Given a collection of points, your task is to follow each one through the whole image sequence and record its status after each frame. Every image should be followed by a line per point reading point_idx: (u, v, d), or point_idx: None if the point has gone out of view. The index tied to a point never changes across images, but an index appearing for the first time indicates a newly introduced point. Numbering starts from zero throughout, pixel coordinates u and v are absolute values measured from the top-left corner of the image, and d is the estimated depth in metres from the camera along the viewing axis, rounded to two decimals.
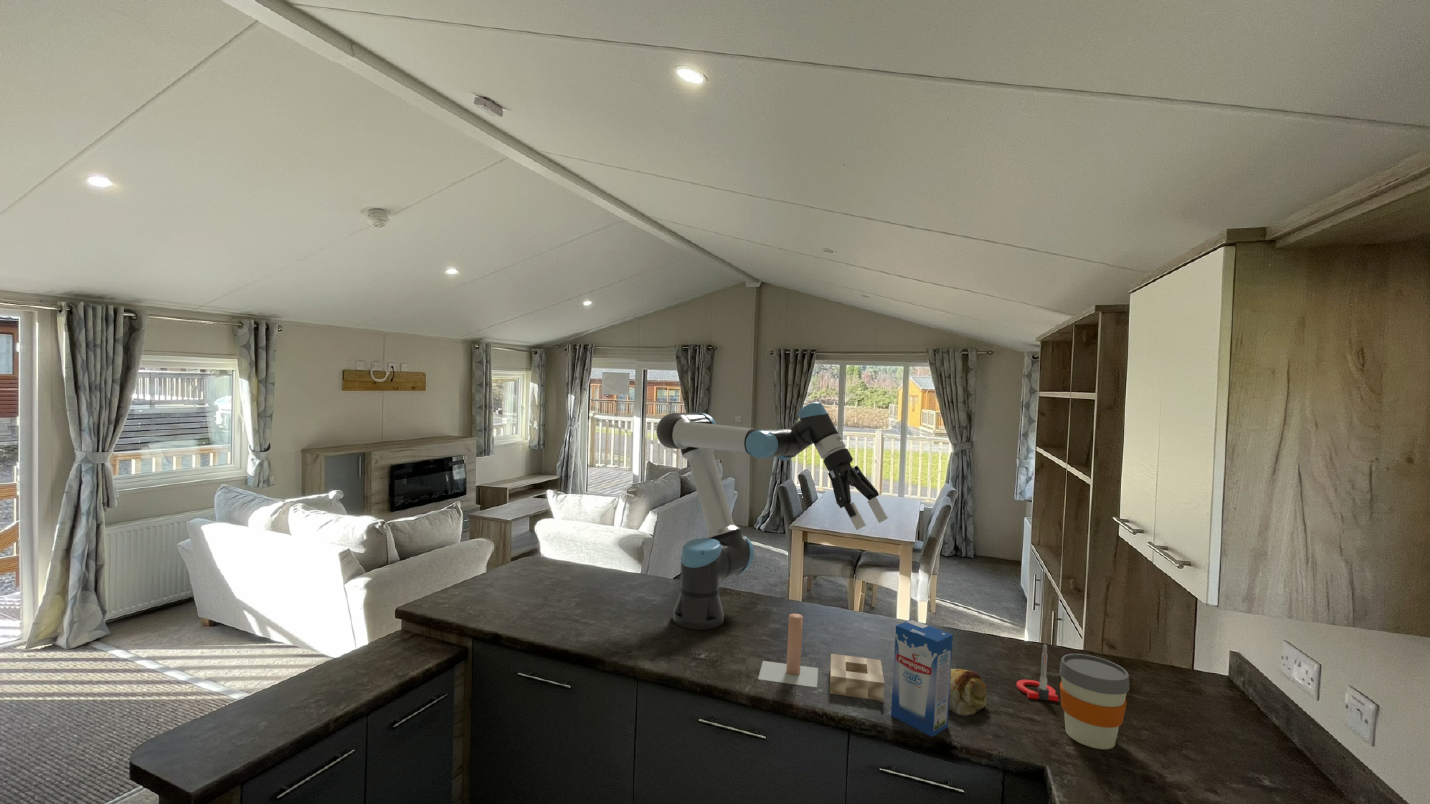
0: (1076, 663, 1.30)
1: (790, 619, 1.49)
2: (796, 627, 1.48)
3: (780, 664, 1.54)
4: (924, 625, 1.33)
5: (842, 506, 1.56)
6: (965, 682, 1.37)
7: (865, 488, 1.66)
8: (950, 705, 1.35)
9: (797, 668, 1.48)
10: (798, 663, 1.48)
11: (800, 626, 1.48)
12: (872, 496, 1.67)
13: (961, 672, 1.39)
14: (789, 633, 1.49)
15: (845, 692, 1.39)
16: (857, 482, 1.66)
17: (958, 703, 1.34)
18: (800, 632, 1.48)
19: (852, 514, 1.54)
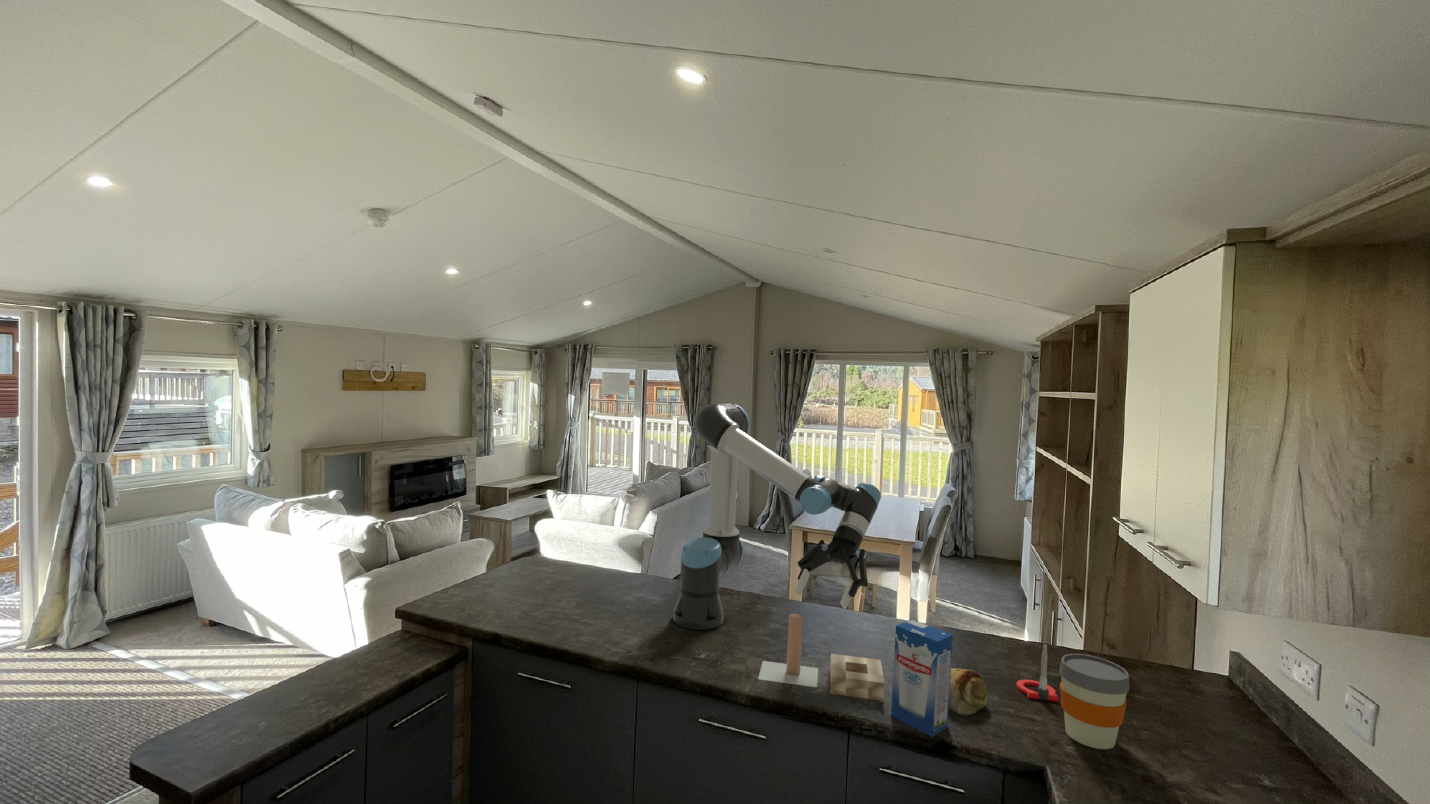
0: (1076, 663, 1.30)
1: (790, 619, 1.49)
2: (796, 627, 1.48)
3: (780, 664, 1.54)
4: (924, 625, 1.33)
5: (856, 582, 1.54)
6: (965, 682, 1.37)
7: (819, 565, 1.66)
8: (951, 705, 1.35)
9: (797, 668, 1.48)
10: (798, 663, 1.48)
11: (800, 626, 1.48)
12: (807, 570, 1.66)
13: (962, 671, 1.39)
14: (789, 633, 1.49)
15: (845, 692, 1.39)
16: (827, 559, 1.65)
17: (959, 703, 1.35)
18: (800, 632, 1.48)
19: (854, 595, 1.54)
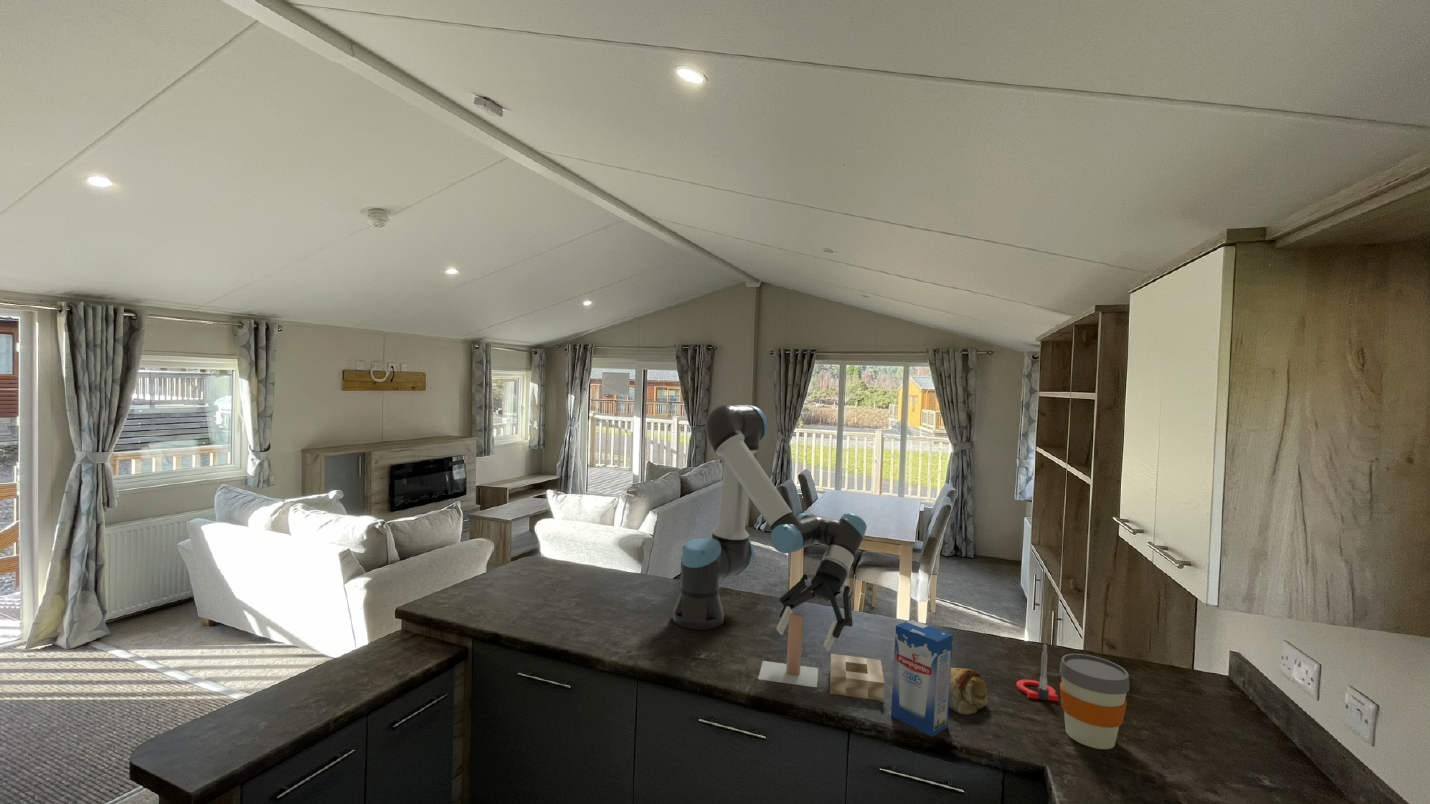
0: (1076, 663, 1.30)
1: (790, 619, 1.49)
2: (796, 627, 1.48)
3: (780, 664, 1.54)
4: (924, 625, 1.33)
5: (840, 622, 1.47)
6: (966, 681, 1.37)
7: (802, 602, 1.58)
8: (951, 704, 1.35)
9: (797, 668, 1.48)
10: (798, 663, 1.48)
11: (800, 626, 1.48)
12: (790, 607, 1.58)
13: (962, 671, 1.39)
14: (789, 633, 1.49)
15: (845, 692, 1.39)
16: (811, 595, 1.58)
17: (959, 702, 1.35)
18: (800, 632, 1.48)
19: (838, 636, 1.46)
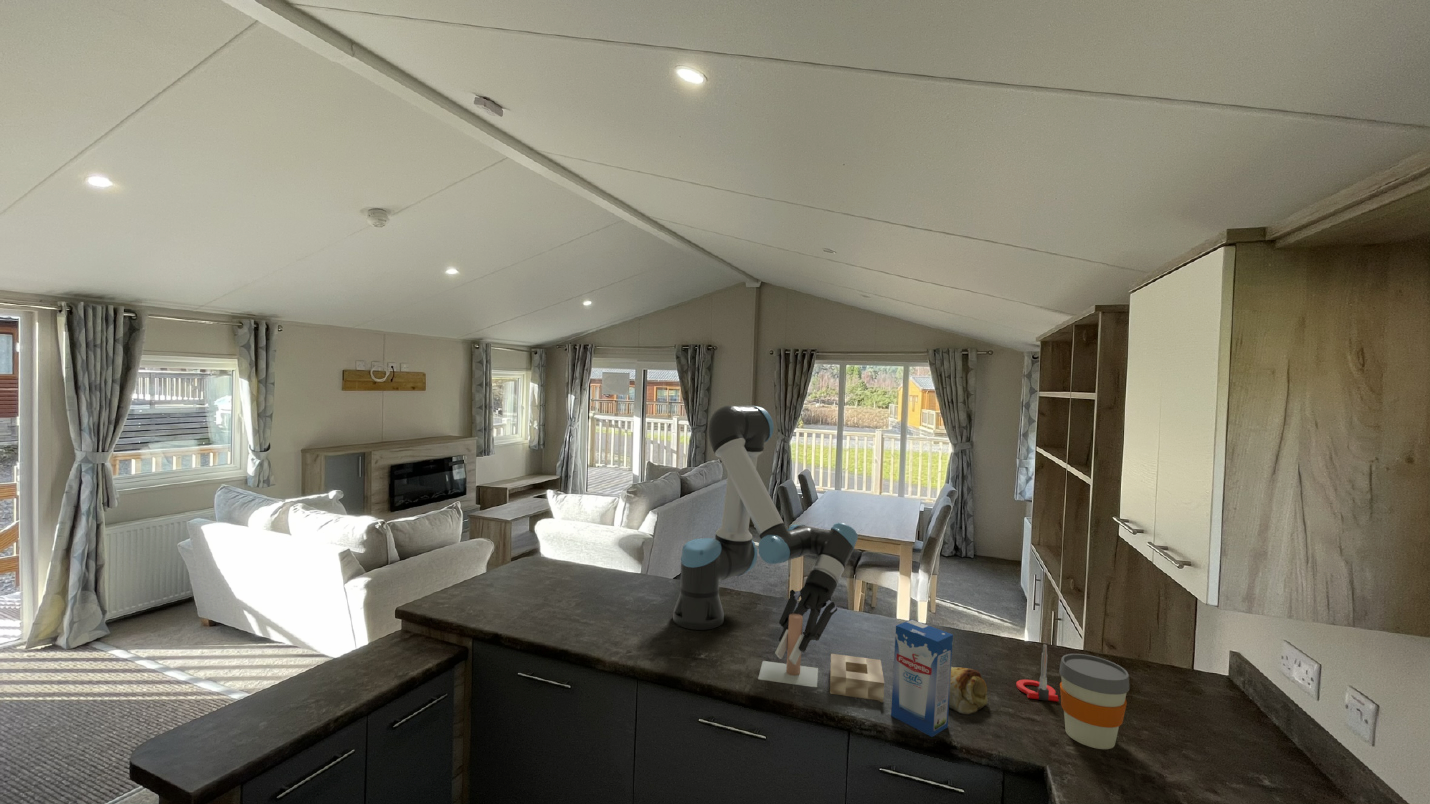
0: (1076, 663, 1.30)
1: (790, 619, 1.49)
2: (796, 627, 1.48)
3: (780, 664, 1.54)
4: (924, 625, 1.33)
5: (805, 636, 1.47)
6: (966, 680, 1.38)
7: None
8: (952, 703, 1.36)
9: (797, 668, 1.48)
10: (798, 663, 1.48)
11: (800, 626, 1.48)
12: None
13: (962, 670, 1.40)
14: (789, 633, 1.49)
15: (845, 692, 1.39)
16: (804, 609, 1.55)
17: (960, 702, 1.35)
18: (800, 632, 1.48)
19: (804, 650, 1.47)
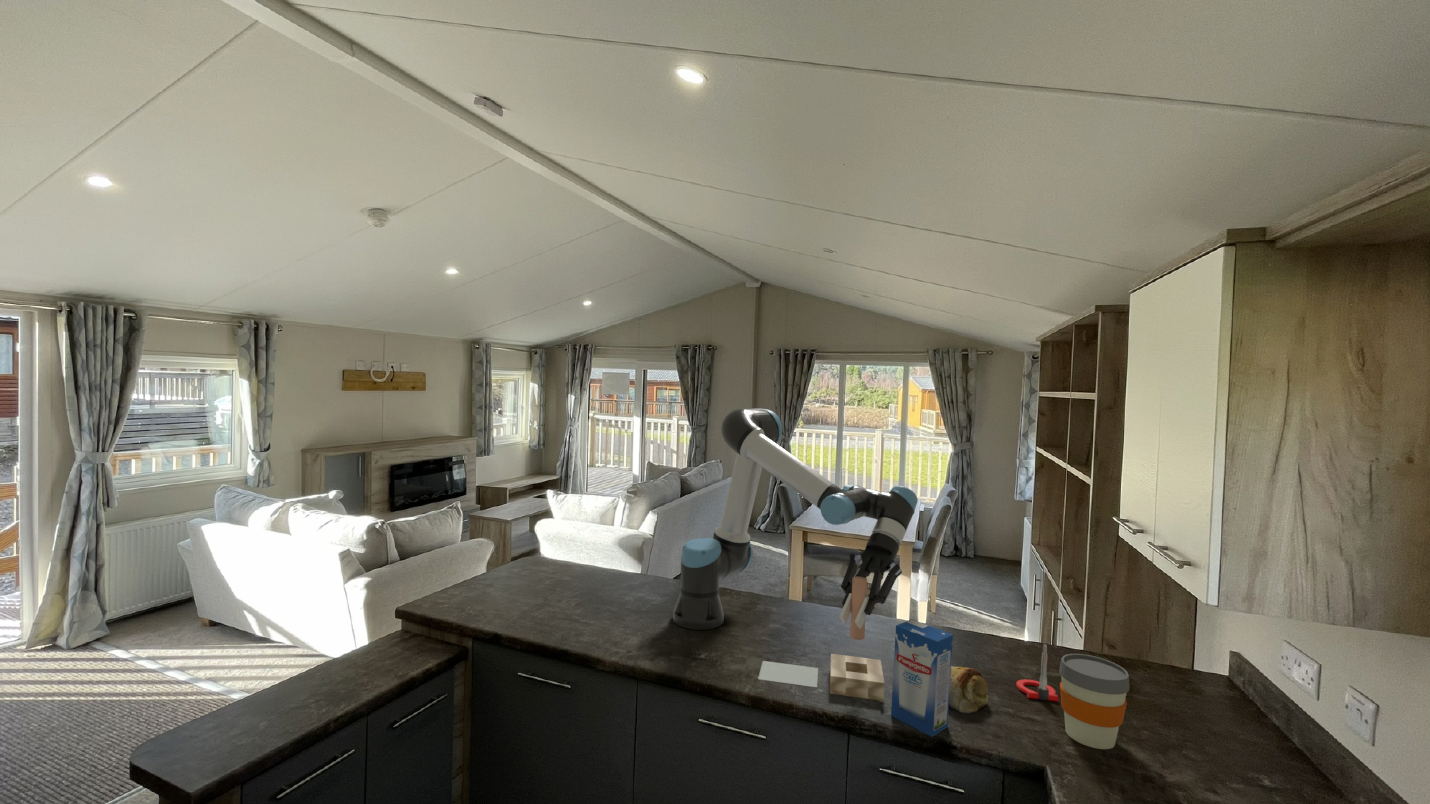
0: (1076, 663, 1.30)
1: (854, 581, 1.43)
2: (860, 590, 1.42)
3: (780, 664, 1.54)
4: (924, 625, 1.33)
5: (871, 598, 1.42)
6: (967, 680, 1.38)
7: None
8: (953, 703, 1.36)
9: (861, 632, 1.43)
10: (863, 627, 1.43)
11: (865, 589, 1.43)
12: None
13: (963, 669, 1.40)
14: (853, 596, 1.44)
15: (845, 692, 1.39)
16: (867, 573, 1.50)
17: (961, 701, 1.36)
18: (865, 595, 1.43)
19: (870, 613, 1.41)
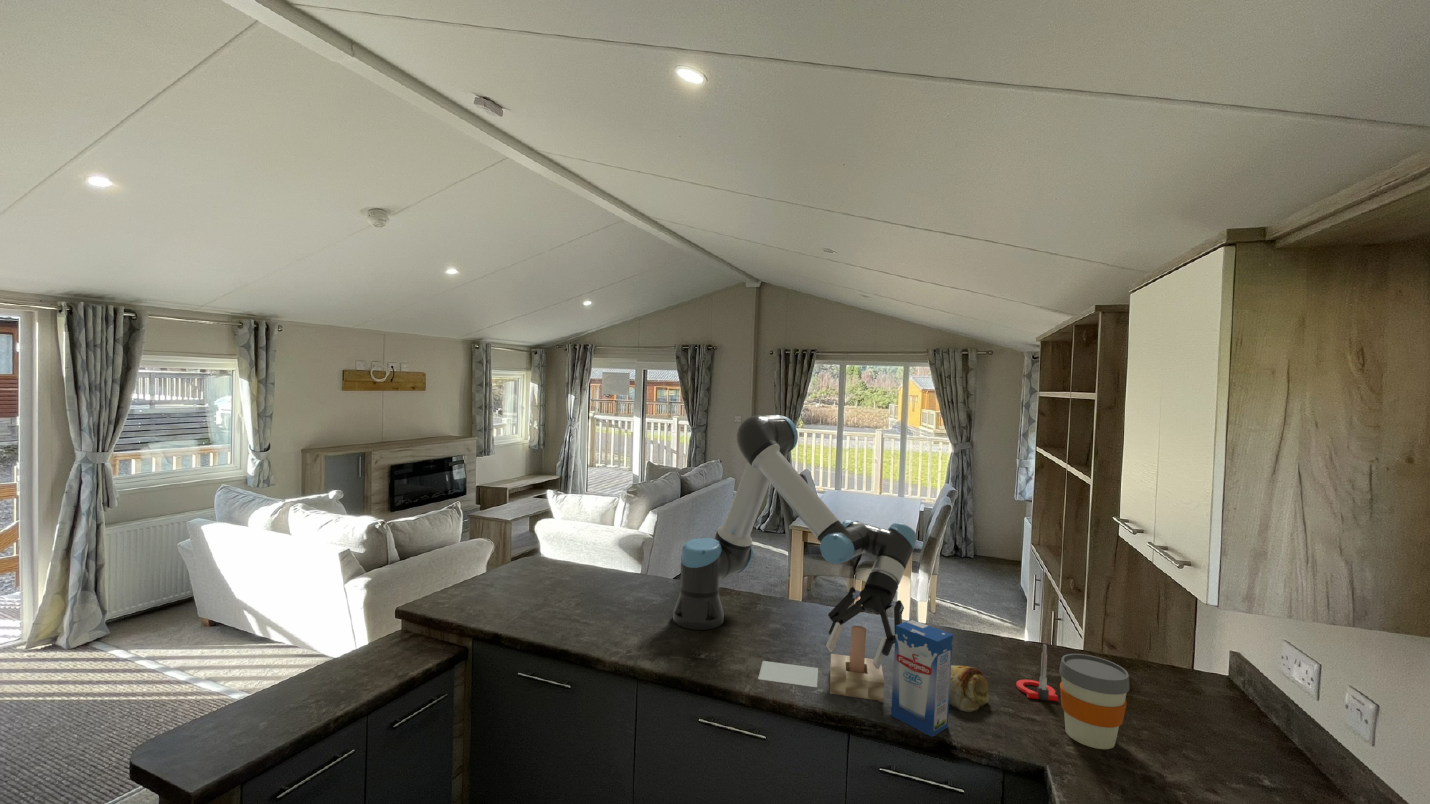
0: (1076, 663, 1.30)
1: (853, 631, 1.44)
2: (859, 640, 1.43)
3: (780, 664, 1.54)
4: (924, 625, 1.33)
5: (890, 639, 1.41)
6: (968, 679, 1.38)
7: (851, 616, 1.51)
8: (954, 701, 1.37)
9: None
10: None
11: (864, 639, 1.43)
12: (839, 623, 1.51)
13: (964, 668, 1.41)
14: (852, 646, 1.44)
15: (845, 692, 1.39)
16: (860, 609, 1.51)
17: (962, 700, 1.36)
18: (864, 645, 1.43)
19: (887, 654, 1.40)
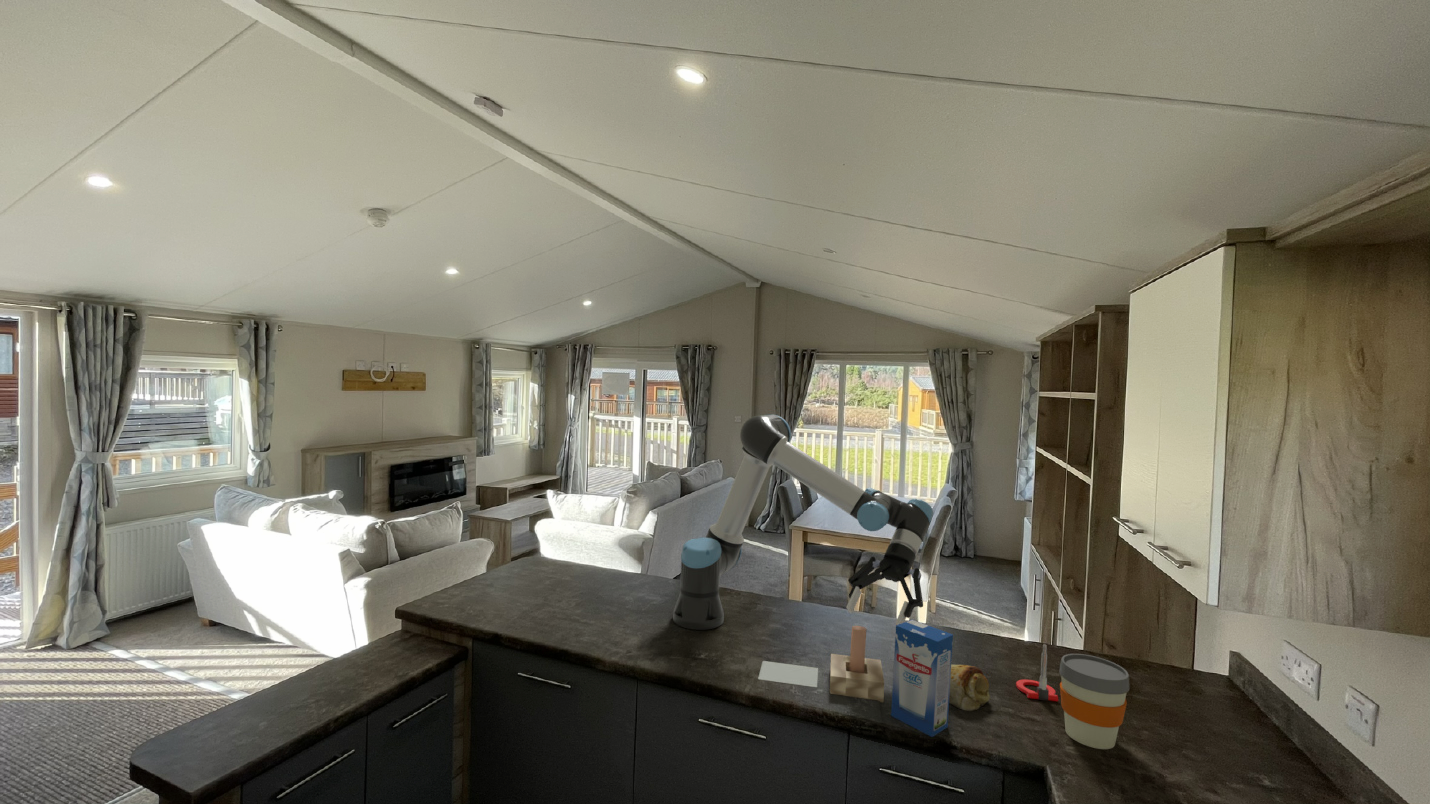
0: (1076, 663, 1.30)
1: (853, 631, 1.44)
2: (859, 640, 1.43)
3: (780, 664, 1.54)
4: (924, 625, 1.33)
5: (911, 602, 1.51)
6: (968, 678, 1.39)
7: (870, 583, 1.63)
8: (955, 701, 1.37)
9: None
10: None
11: (864, 639, 1.43)
12: (858, 588, 1.63)
13: (965, 667, 1.41)
14: (852, 646, 1.44)
15: (845, 692, 1.39)
16: (879, 577, 1.62)
17: (963, 699, 1.37)
18: (864, 645, 1.43)
19: (909, 616, 1.51)
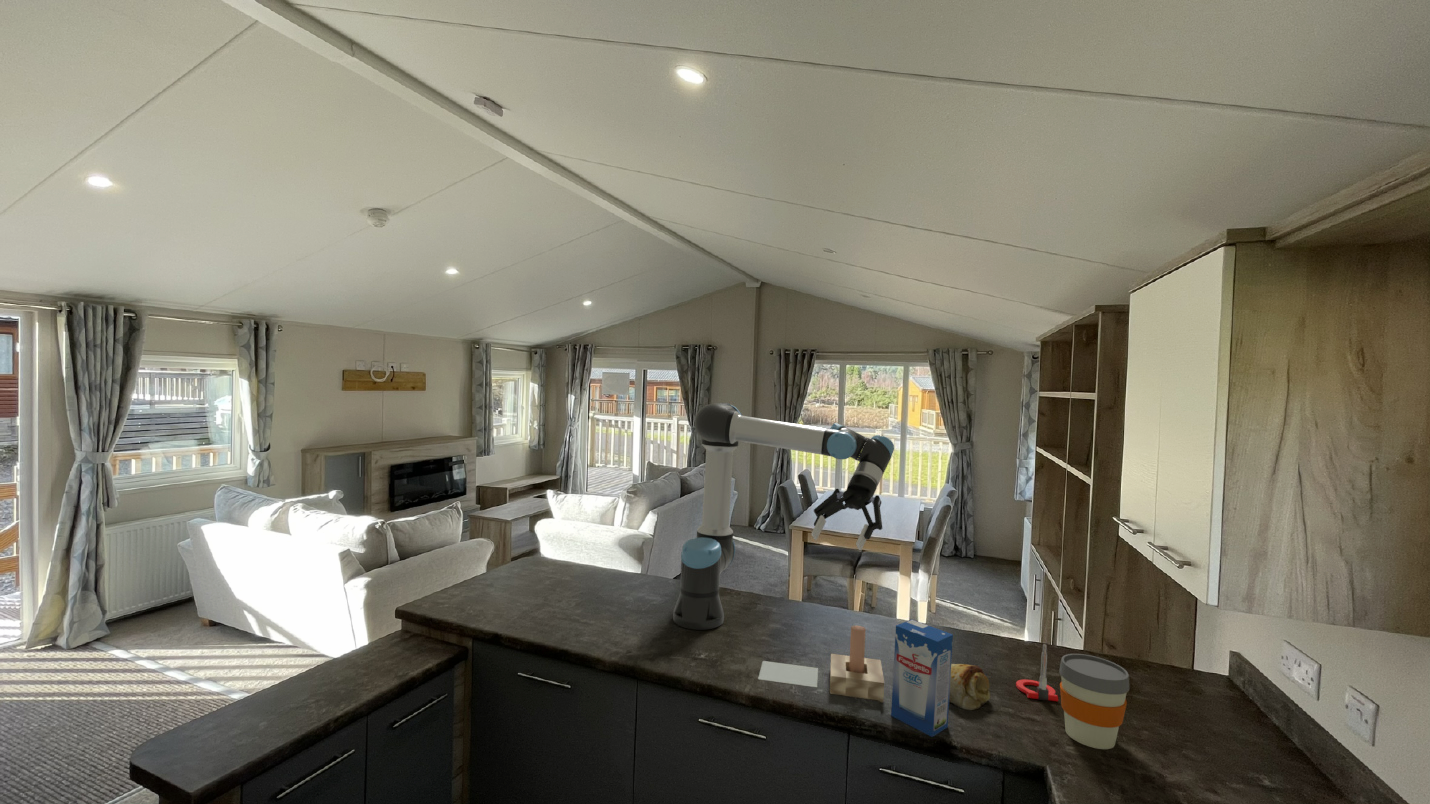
0: (1076, 663, 1.30)
1: (853, 631, 1.44)
2: (859, 640, 1.43)
3: (780, 664, 1.54)
4: (924, 625, 1.33)
5: (871, 525, 1.60)
6: (969, 677, 1.39)
7: (834, 512, 1.71)
8: (956, 700, 1.37)
9: None
10: None
11: (863, 639, 1.43)
12: (823, 517, 1.71)
13: (965, 666, 1.41)
14: (852, 646, 1.44)
15: (845, 692, 1.39)
16: (843, 506, 1.71)
17: (964, 698, 1.37)
18: (863, 645, 1.43)
19: (869, 537, 1.60)
